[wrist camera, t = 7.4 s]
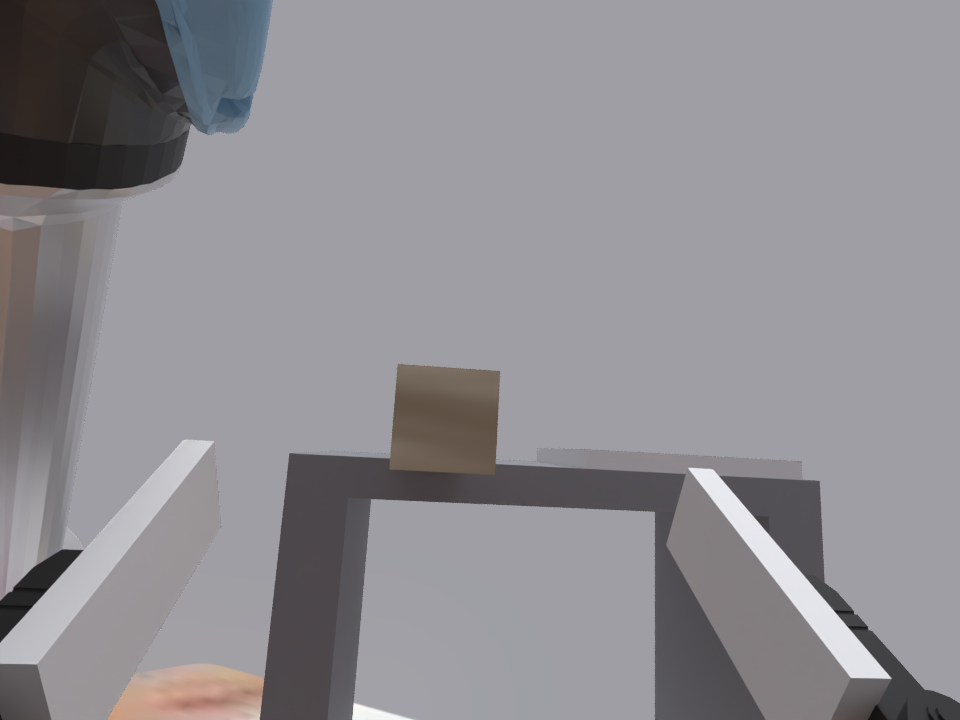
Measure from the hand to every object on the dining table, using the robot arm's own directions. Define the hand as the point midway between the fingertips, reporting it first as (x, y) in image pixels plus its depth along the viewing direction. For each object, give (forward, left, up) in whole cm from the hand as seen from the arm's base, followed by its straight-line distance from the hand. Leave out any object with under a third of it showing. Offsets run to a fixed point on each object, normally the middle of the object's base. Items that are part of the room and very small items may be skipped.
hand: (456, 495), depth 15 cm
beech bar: (+8, +12, +1) cm, 14 cm away
